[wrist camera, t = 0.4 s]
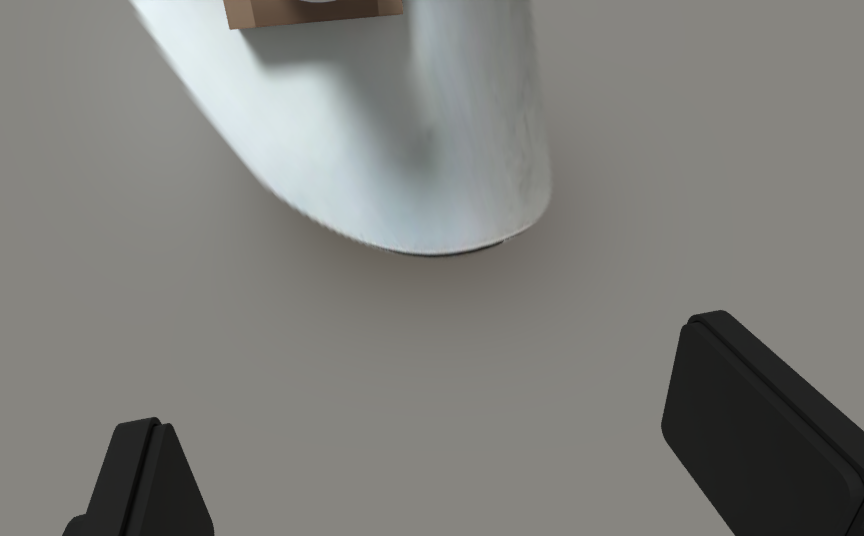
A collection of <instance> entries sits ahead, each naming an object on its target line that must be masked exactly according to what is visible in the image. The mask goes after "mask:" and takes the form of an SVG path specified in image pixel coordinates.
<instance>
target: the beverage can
mask: <svg viewBox="0 0 864 536" xmlns="http://www.w3.org/2000/svg"><path fill="white" fill-rule="evenodd" d="M302 1H307V2H329V1H335V0H302Z"/></svg>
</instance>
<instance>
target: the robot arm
mask: <svg viewBox="0 0 864 536" xmlns="http://www.w3.org/2000/svg"><path fill="white" fill-rule="evenodd" d="M661 428H662V433H663V436H664V438H665V440H666V442H667V443H668V445H669V446H670V447H671V449H672V450H673V452H674V453H675V454H676V456H677V457H678V458H679V460H680V461H681V463H682V464H683V465H684V467H685V468H686V469H687V471H688V472H689V473H690V475H691V476H692V477H693V478H694V480H695V482H696V483H697V484H698V486H699V487H700V488H701V490H702V491H703V493H704V494H705V495H706V497H707V498H708V499H709V501H710V502H711V503H712V505H713V506H714V507H715V509H716V510H717V512H718V513H719V514H720V516H721V517H722V518H723V520H724V521H725V522H726V524H727V525H728V526H729V528H730V529H731V531H732V532H733V533H734V535H735V536H864V431H863V430H862V429H860V428H859V427H858V426H857V425H856V424H855V423H854V422H852V421H851V420H850V419H849V418H848V417H847V416H846V415H844V414H843V413H842V412H841V411H840V410H839V409H838V408H836V407H835V406H834V405H833V404H832V403H831V402H830V401H828V400H827V399H826V398H825V397H824V396H823V395H822V394H820V393H819V392H818V391H817V390H816V389H815V388H814V387H812V386H811V385H810V384H809V383H808V382H807V381H806V380H805V379H803V378H802V377H801V376H800V375H799V374H798V373H797V372H795V371H794V370H793V369H792V368H791V367H790V366H789V365H787V364H786V363H785V362H784V361H783V360H782V359H780V358H779V357H778V356H777V355H776V354H775V353H774V352H772V351H771V350H770V349H769V348H768V347H767V346H766V345H765V344H763V343H762V342H761V341H760V340H759V339H758V338H757V337H755V336H754V335H753V334H752V333H751V332H750V331H748V329H746V328H745V327H744V326H743V325H742V324H741V323H739V322H738V321H737V320H736V319H735V318H734V317H733V316H731V315H730V314H729V313H727V312H726V311H723V310H718V311H713V312H708V313H702V314H697V315H693V316H691V317H690V318H689V320H688V322H687V324H686V325H684V326H683V327H682V329H681V332H680V337H679V342H678V347H677V352H676V356H675V361H674V365H673V370H672V375H671V380H670V385H669V389H668V394H667V399H666V404H665V409H664V413H663V418H662V422H661ZM62 536H214V527H213V523H212V520H211V517H210V515H209V513H208V510H207V508H206V505H205V503H204V501H203V498H202V496H201V493H200V491H199V489H198V486H197V483H196V481H195V479H194V476H193V474H192V471H191V469H190V467H189V464H188V462H187V459H186V457H185V454H184V452H183V450H182V447H181V445H180V442H179V440H178V437H177V435H176V433H175V430H174V428H173V426H172V425H171V424H170V423H167V424H163V425H162V424H161V422H160V420H159V419H158V418H156V417H152V418H146V419H141V420H136V421H131V422H126V423H120V424H118V425H117V426H116V428H115V430H114V432H113V435H112V438H111V441H110V444H109V447H108V450H107V453H106V456H105V459H104V462H103V465H102V468H101V471H100V474H99V476H98V479H97V482H96V485H95V488H94V491H93V494H92V497H91V500H90V503H89V506H88V509H87V512H86V514H84V515H79V516H76V517H74V518H73V519H72V520H71V521H70V522H69V523H68V525H67V527H66V529H65V531H64V533H63V535H62Z"/></svg>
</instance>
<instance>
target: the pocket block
mask: <svg viewBox="0 0 864 536" xmlns="http://www.w3.org/2000/svg"><path fill="white" fill-rule="evenodd" d="M223 1H224V6H225V10H226V15H227V19H228V24H229V29H230V30H232V29H243V28H254V27H265V26H276V25H287V24H298V23H310V22H321V21H332V20H343V19H354V18H365V17H376V16H387V15H398V14H403V6H402V0H335V1H329V2H307V1H302V0H223Z"/></svg>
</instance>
